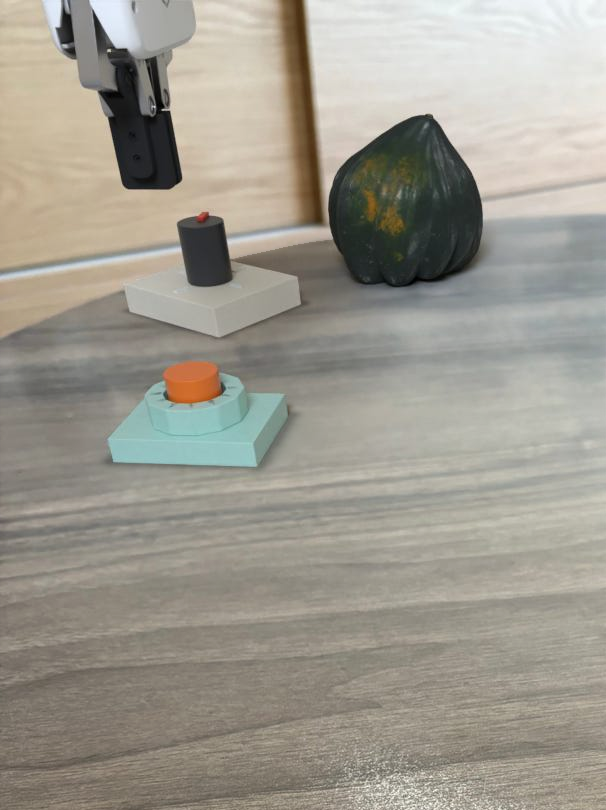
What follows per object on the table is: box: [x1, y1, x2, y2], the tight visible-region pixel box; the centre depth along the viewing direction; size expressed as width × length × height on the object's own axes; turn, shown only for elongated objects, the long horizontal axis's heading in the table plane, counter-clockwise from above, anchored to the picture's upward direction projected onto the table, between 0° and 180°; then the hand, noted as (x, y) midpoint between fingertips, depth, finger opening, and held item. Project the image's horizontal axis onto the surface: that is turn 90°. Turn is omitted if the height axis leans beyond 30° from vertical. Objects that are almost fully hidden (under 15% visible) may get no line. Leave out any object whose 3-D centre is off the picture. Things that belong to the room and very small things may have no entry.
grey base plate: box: [123, 260, 302, 338], centre depth 93 cm, size 12×10×3 cm
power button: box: [163, 360, 222, 404], centre depth 70 cm, size 4×4×2 cm
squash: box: [327, 113, 484, 287], centre depth 98 cm, size 14×15×15 cm
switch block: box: [107, 372, 289, 468], centre depth 71 cm, size 10×8×4 cm
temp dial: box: [176, 211, 233, 286], centre depth 91 cm, size 4×4×5 cm
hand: (153, 185), depth 62 cm, fingers closed
